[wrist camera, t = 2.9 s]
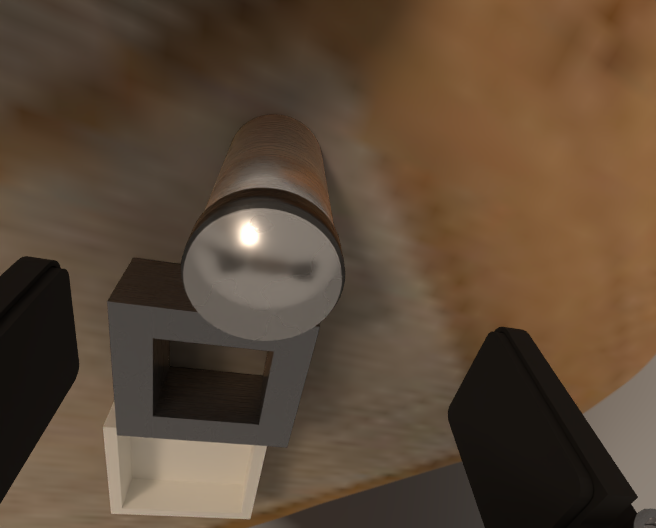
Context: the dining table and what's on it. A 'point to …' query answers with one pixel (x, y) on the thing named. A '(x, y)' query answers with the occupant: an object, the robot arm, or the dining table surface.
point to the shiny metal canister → (266, 237)
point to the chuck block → (192, 384)
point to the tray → (180, 475)
